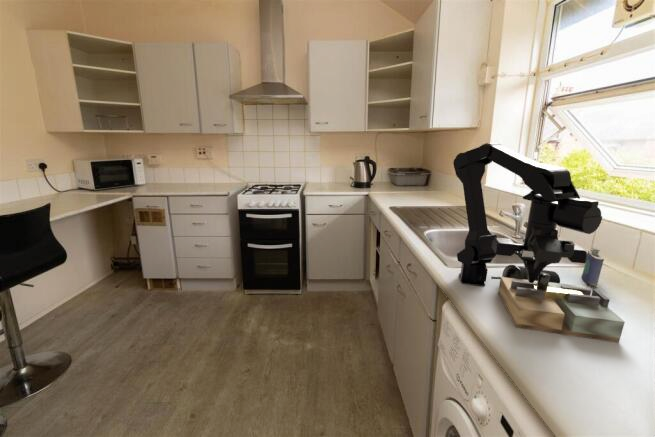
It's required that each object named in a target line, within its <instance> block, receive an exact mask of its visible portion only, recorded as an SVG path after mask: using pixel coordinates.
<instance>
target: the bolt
mask: <svg viewBox="0 0 655 437" xmlns="http://www.w3.org/2000/svg"><path fill="white" fill-rule="evenodd" d="M549 279H550V275H549V274H547V273H543V272H541V273H540V274H539V277H538V282H537V286H533V289H538V290H545V292H546V294H545V297H549V298H558V299H566V300H567V296H568V293H573V294H581V295H584V294H582V293H581V292H580V291H577V290H568V289H559V288H550V287H548V283H549Z"/></svg>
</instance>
